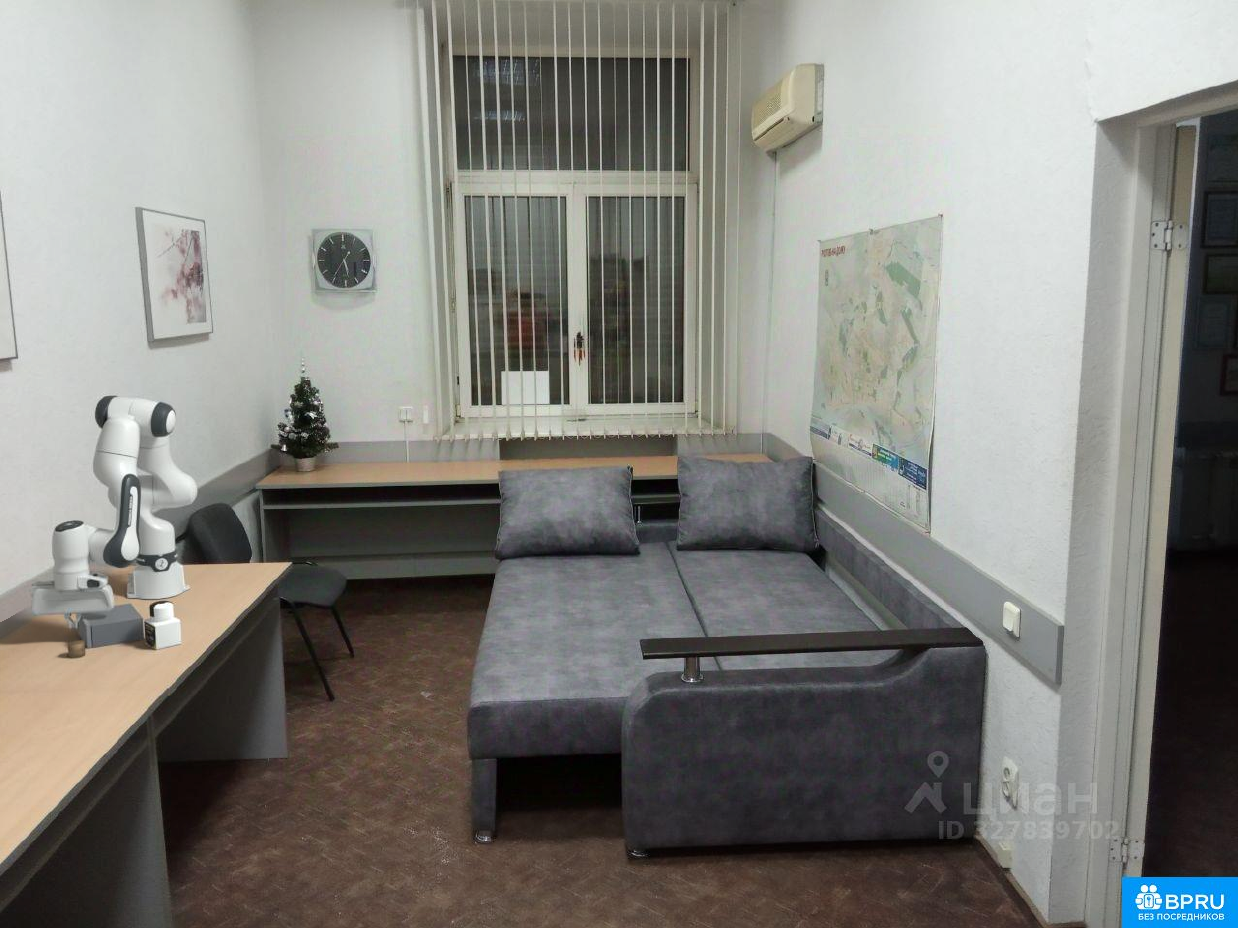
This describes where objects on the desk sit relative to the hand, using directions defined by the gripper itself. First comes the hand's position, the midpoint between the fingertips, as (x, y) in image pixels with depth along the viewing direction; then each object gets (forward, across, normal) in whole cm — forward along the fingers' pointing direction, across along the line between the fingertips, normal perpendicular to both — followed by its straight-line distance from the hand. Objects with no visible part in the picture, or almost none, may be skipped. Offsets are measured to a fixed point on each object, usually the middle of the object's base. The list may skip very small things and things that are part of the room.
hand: (74, 628), depth 277 cm
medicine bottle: (+4, +24, -8) cm, 25 cm away
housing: (+4, +9, +3) cm, 10 cm away
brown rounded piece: (+4, +3, -12) cm, 13 cm away
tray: (+4, +8, +3) cm, 9 cm away
